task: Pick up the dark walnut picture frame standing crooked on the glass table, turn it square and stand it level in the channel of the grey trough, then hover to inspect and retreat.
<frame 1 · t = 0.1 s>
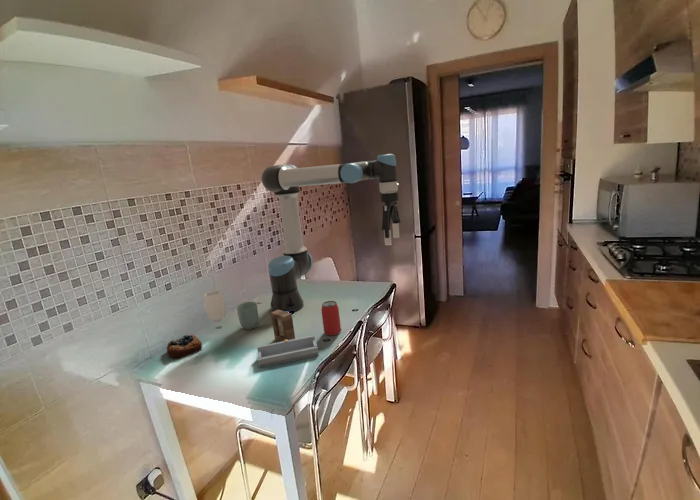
hand: (392, 241, 161), 28 cm above the table, fingers open, 13 cm apart
beer can: (332, 332, 144), on the table
pastry: (185, 351, 141), on the table
grey trough: (288, 356, 129), on the table
cup: (250, 327, 156), on the table
cup 2: (222, 343, 144), on the table
frame: (285, 339, 142), on the table
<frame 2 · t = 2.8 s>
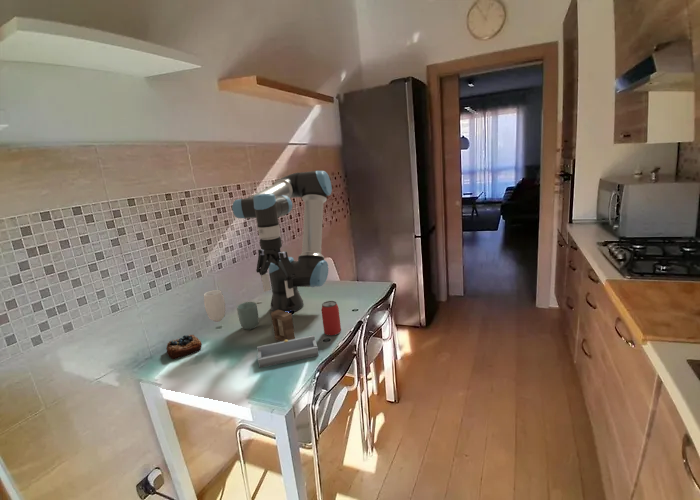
hand: (278, 293, 137), 19 cm above the table, fingers open, 13 cm apart
nothing on the table moved.
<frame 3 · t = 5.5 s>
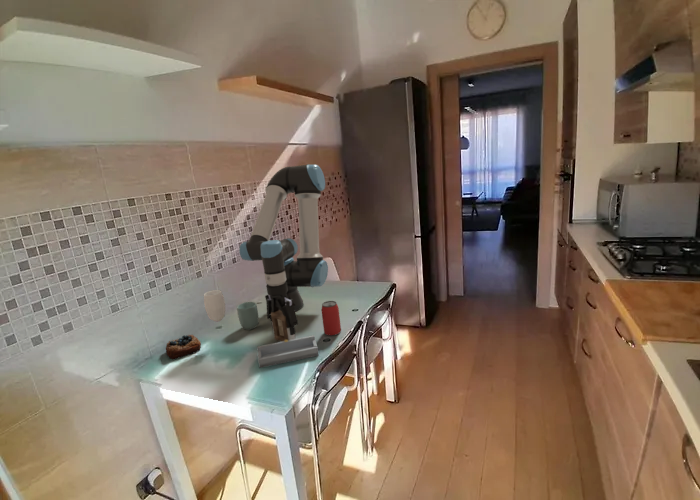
hand: (284, 339, 141), 0 cm above the table, fingers closed on frame, 8 cm apart
frame: (285, 339, 142), on the table, touching gripper
everything else where it was.
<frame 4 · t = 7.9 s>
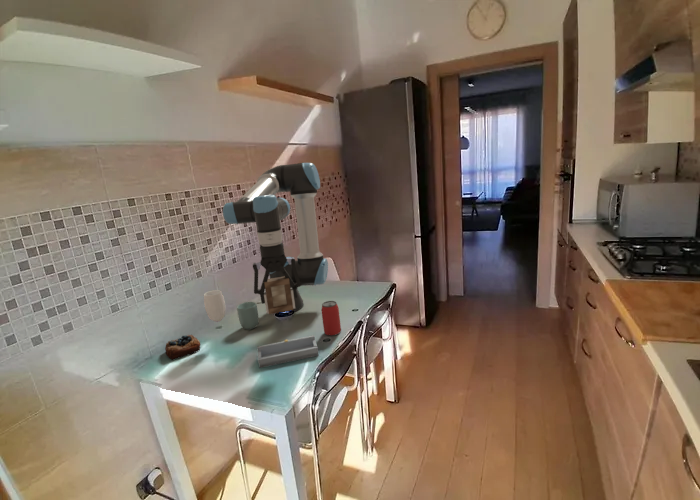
hand: (280, 309, 125), 18 cm above the table, fingers closed on frame, 8 cm apart
frame: (281, 310, 125), point 17 cm above the table, touching gripper
everything else where it was.
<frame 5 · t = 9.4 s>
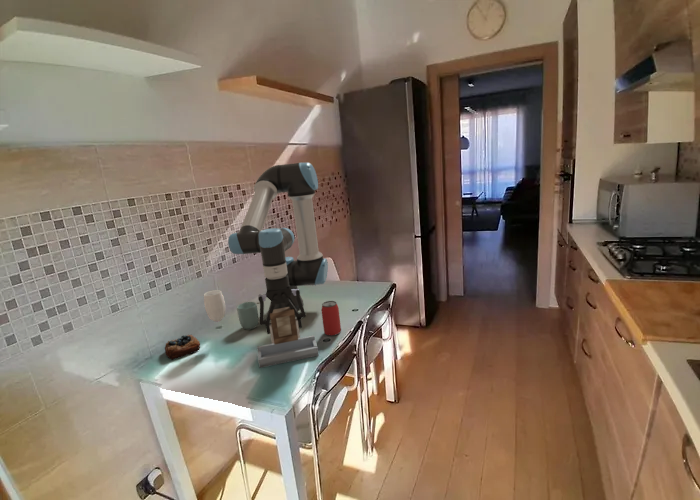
hand: (285, 339, 127), 7 cm above the table, fingers closed on frame, 8 cm apart
frame: (286, 339, 127), point 6 cm above the table, touching gripper
everything else where it was.
when the fingers open (3 cm above the table, at t = 10.5 s): frame drops 1 cm, resting on grey trough.
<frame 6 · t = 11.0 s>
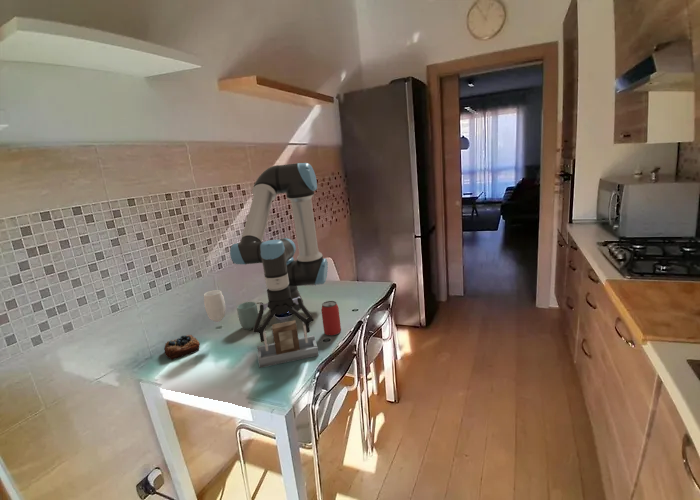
hand: (286, 345, 128), 4 cm above the table, fingers open, 13 cm apart
frame: (288, 353, 128), point 1 cm above the table, touching grey trough
everything else where it was.
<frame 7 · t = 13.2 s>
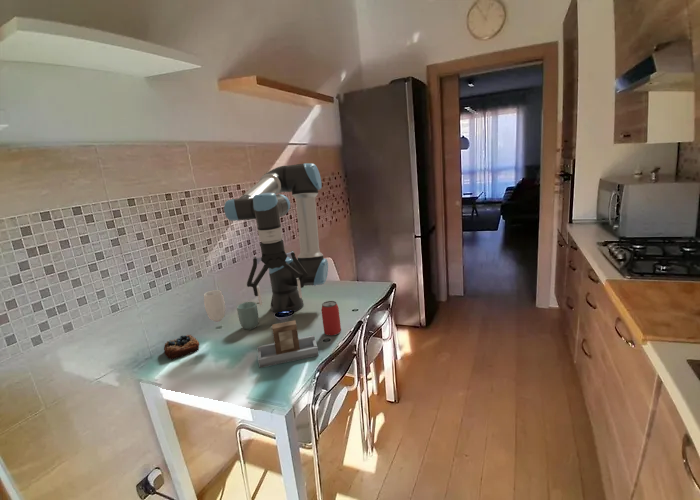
hand: (281, 300, 127), 20 cm above the table, fingers open, 13 cm apart
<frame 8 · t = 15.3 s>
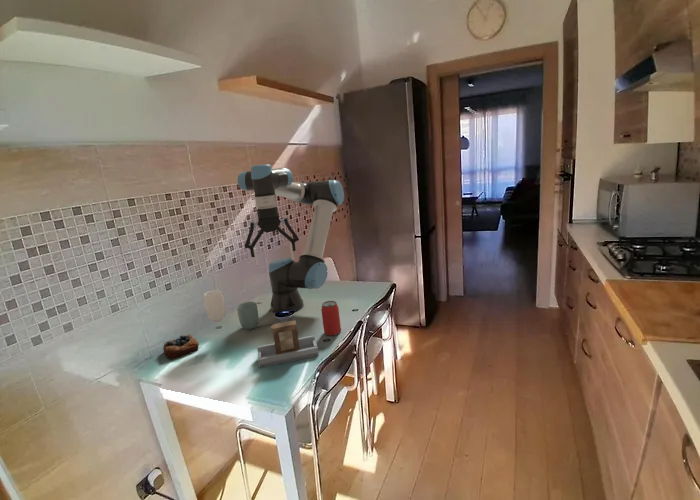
hand: (275, 262, 142), 29 cm above the table, fingers open, 13 cm apart
at the end: frame inside the target area on the grey trough (0.1 cm from its centre), point 1.2 cm above the grey trough's base; frame tilted 0°; the gripper is holding nothing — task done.
